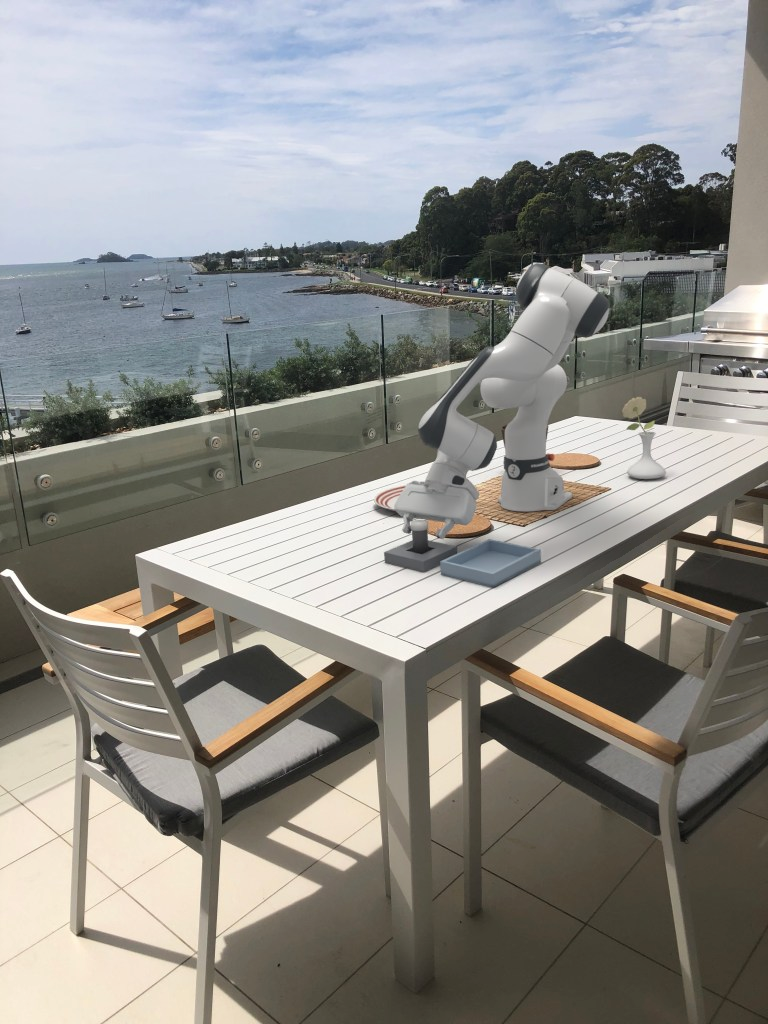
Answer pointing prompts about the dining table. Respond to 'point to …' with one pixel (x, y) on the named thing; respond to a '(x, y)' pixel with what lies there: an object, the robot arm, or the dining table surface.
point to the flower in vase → (646, 464)
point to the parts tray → (490, 562)
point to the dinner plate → (388, 497)
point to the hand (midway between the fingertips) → (422, 535)
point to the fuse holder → (419, 556)
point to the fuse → (420, 536)
